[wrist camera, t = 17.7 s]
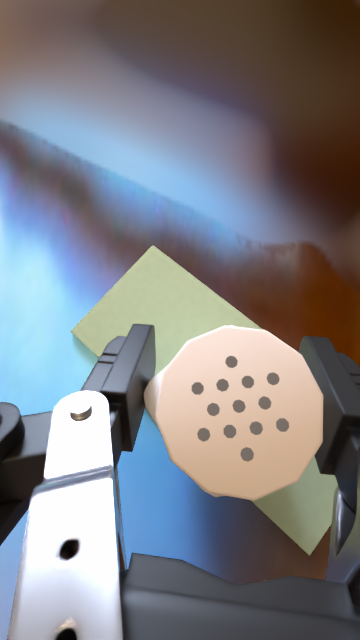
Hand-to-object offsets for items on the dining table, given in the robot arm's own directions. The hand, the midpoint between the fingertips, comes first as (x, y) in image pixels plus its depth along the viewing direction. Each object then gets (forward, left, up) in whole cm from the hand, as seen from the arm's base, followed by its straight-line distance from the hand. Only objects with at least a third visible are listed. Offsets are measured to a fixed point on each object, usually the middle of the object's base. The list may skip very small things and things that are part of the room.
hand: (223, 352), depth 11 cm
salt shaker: (0, +2, -5) cm, 5 cm away
